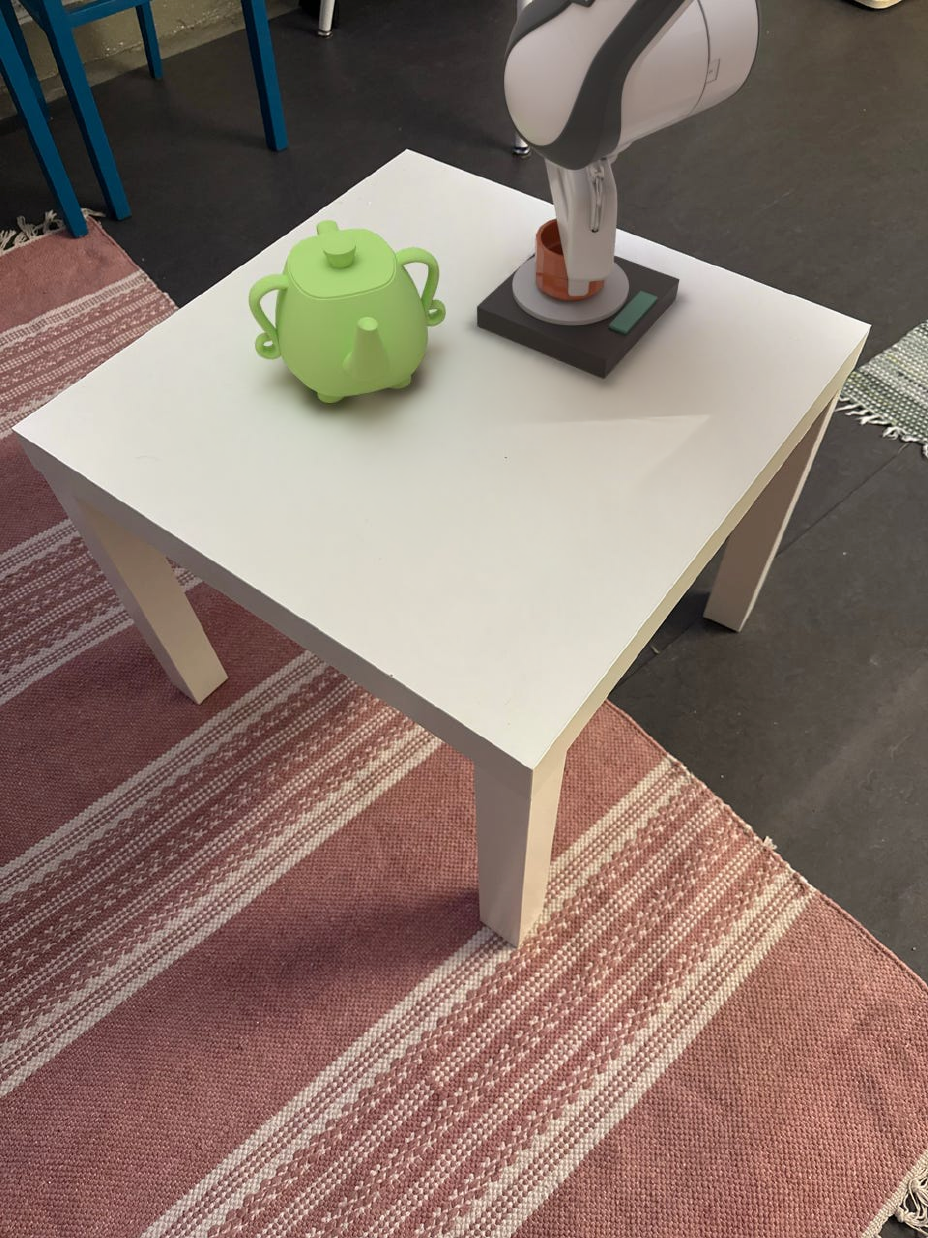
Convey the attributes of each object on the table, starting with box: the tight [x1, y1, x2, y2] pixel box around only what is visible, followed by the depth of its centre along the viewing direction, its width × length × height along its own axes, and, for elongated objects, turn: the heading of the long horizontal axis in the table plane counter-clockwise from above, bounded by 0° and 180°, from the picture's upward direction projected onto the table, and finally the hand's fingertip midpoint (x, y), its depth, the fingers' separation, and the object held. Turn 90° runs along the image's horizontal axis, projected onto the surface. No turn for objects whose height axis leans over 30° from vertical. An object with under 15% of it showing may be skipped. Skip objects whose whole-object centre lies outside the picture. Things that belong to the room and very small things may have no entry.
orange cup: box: [534, 218, 607, 300], centre depth 85 cm, size 7×7×5 cm
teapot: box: [248, 219, 447, 404], centre depth 80 cm, size 16×14×13 cm
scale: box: [476, 252, 680, 380], centre depth 88 cm, size 14×14×3 cm
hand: (571, 263), depth 85 cm, fingers closed on orange cup, 7 cm apart
